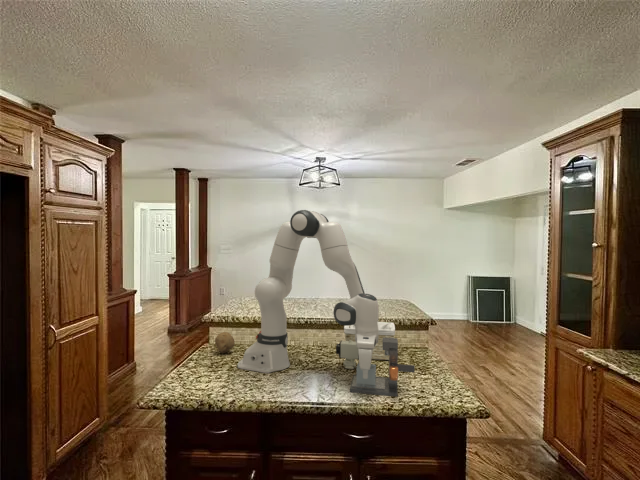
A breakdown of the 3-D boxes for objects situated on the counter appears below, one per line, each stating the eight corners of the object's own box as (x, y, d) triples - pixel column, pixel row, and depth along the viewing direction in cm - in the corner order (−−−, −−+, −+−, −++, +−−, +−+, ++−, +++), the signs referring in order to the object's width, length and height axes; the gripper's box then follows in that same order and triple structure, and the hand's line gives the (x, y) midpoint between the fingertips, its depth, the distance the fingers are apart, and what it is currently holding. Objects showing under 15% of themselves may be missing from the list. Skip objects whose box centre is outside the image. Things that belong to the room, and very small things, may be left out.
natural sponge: (232, 349, 178) (233, 329, 178) (236, 354, 170) (236, 333, 170) (213, 351, 175) (214, 330, 175) (216, 356, 167) (216, 335, 166)
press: (349, 392, 130) (350, 342, 130) (353, 377, 144) (353, 332, 144) (414, 398, 126) (415, 347, 126) (412, 382, 140) (412, 336, 140)
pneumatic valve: (362, 370, 151) (363, 342, 151) (335, 368, 154) (335, 340, 154) (363, 366, 157) (364, 339, 157) (337, 364, 159) (337, 337, 159)
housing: (356, 383, 134) (356, 366, 134) (357, 378, 139) (357, 362, 139) (375, 385, 133) (375, 368, 133) (375, 380, 138) (375, 363, 138)
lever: (389, 380, 124) (389, 368, 124) (389, 373, 131) (389, 362, 131) (398, 380, 124) (398, 369, 124) (397, 373, 130) (397, 362, 130)
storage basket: (342, 358, 167) (343, 327, 167) (346, 348, 183) (347, 319, 183) (395, 362, 162) (395, 330, 162) (394, 351, 178) (394, 322, 178)
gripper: (360, 329, 147) (359, 363, 147) (356, 344, 127) (355, 383, 127) (375, 330, 146) (375, 364, 146) (374, 345, 126) (373, 384, 126)
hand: (366, 373), depth 136 cm, fingers open, 8 cm apart
